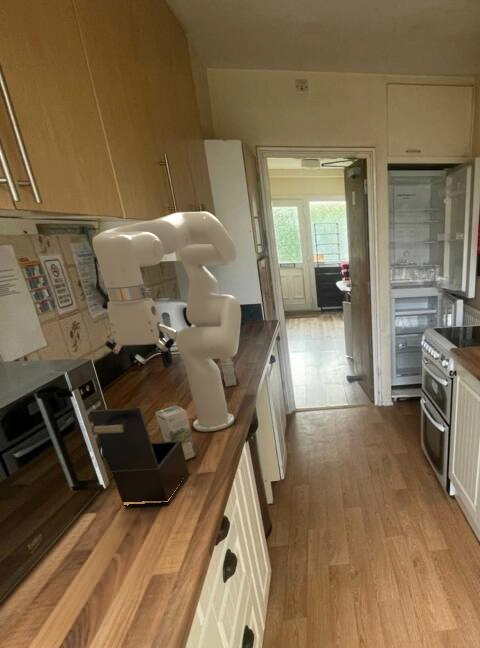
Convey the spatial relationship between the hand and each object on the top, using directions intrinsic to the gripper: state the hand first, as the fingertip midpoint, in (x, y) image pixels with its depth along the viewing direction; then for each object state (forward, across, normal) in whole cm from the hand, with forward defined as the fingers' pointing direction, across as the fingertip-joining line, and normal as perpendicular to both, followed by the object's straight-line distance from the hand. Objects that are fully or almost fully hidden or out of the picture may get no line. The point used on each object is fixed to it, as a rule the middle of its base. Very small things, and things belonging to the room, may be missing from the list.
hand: (148, 366), depth 103 cm
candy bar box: (+30, +3, -68) cm, 74 cm away
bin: (+28, 0, +11) cm, 30 cm away
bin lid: (+10, 0, +17) cm, 20 cm away
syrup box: (+29, 0, -5) cm, 29 cm away
